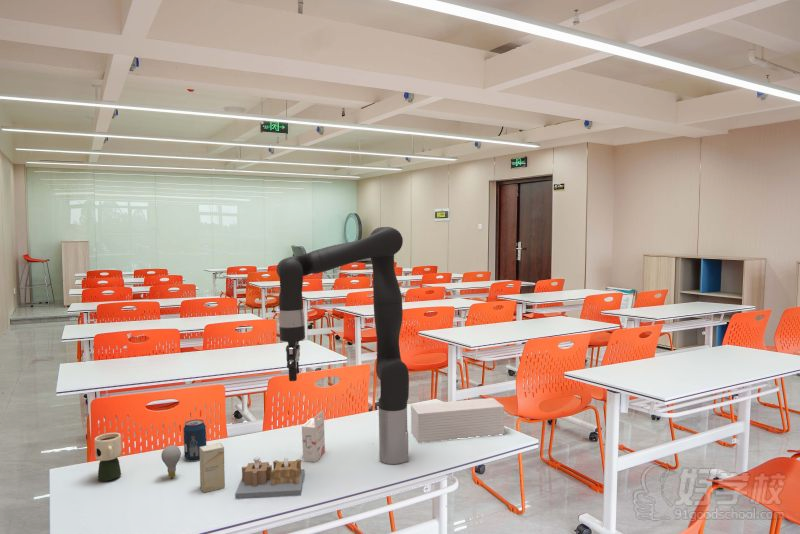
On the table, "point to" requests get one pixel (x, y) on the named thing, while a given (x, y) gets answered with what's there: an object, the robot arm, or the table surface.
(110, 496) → the table surface
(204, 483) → the skincare box
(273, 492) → the gear board
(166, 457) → the light bulb
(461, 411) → the stack of papers
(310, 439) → the ink cartridge box
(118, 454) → the character mug
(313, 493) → the table surface
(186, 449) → the soda can
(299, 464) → the oak gear
